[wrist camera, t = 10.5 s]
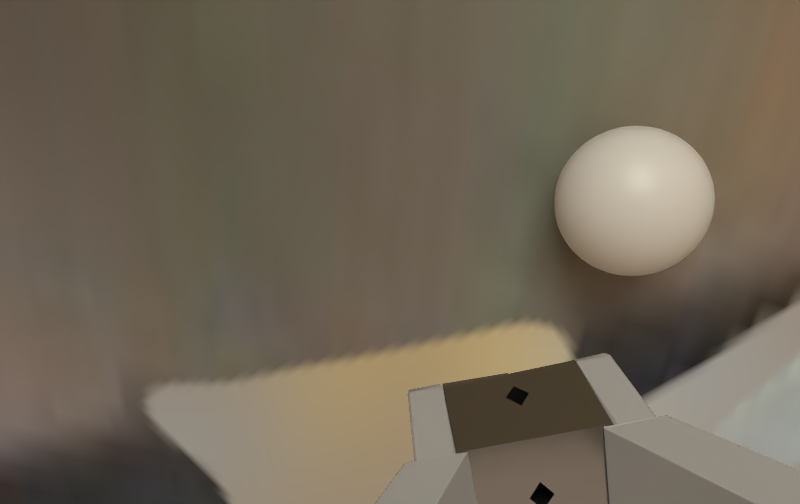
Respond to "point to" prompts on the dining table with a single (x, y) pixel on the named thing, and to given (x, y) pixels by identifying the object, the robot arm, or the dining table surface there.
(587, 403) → the robot arm
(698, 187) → the cue ball
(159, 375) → the dining table surface
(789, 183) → the dining table surface
